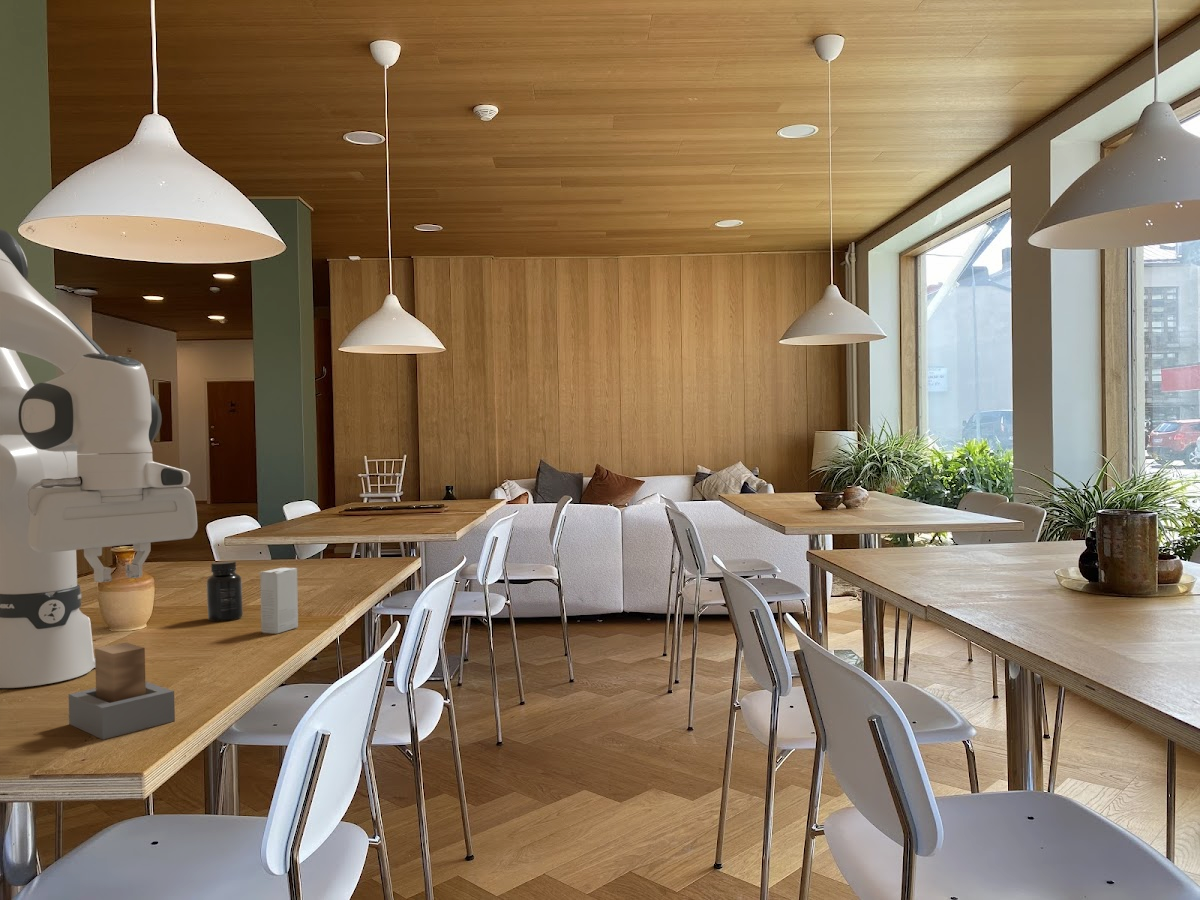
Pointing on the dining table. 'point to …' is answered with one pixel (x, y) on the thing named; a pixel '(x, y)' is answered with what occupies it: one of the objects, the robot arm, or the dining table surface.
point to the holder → (121, 712)
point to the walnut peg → (120, 672)
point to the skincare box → (279, 600)
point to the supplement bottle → (224, 592)
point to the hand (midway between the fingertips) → (118, 579)
